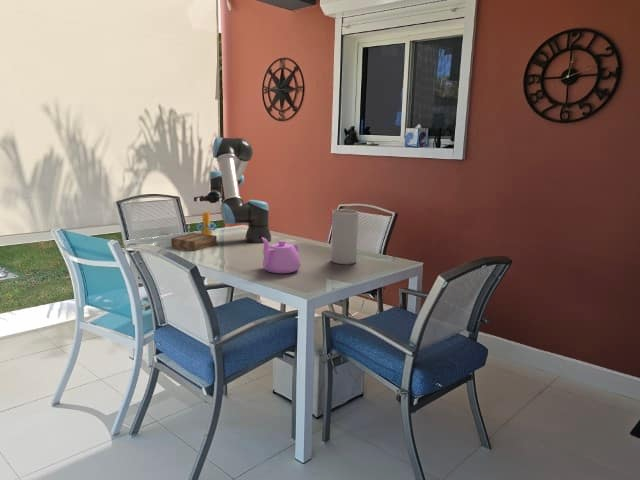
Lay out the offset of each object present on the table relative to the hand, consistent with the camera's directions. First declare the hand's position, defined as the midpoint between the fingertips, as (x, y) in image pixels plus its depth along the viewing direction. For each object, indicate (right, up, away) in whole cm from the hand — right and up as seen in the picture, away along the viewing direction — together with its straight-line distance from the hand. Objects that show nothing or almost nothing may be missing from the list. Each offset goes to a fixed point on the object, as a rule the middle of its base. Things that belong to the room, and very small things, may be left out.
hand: (208, 201), depth 296 cm
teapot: (+48, -37, -71) cm, 94 cm away
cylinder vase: (+79, -34, -55) cm, 102 cm away
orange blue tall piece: (0, -22, -6) cm, 23 cm away
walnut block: (-1, -26, -28) cm, 39 cm away
